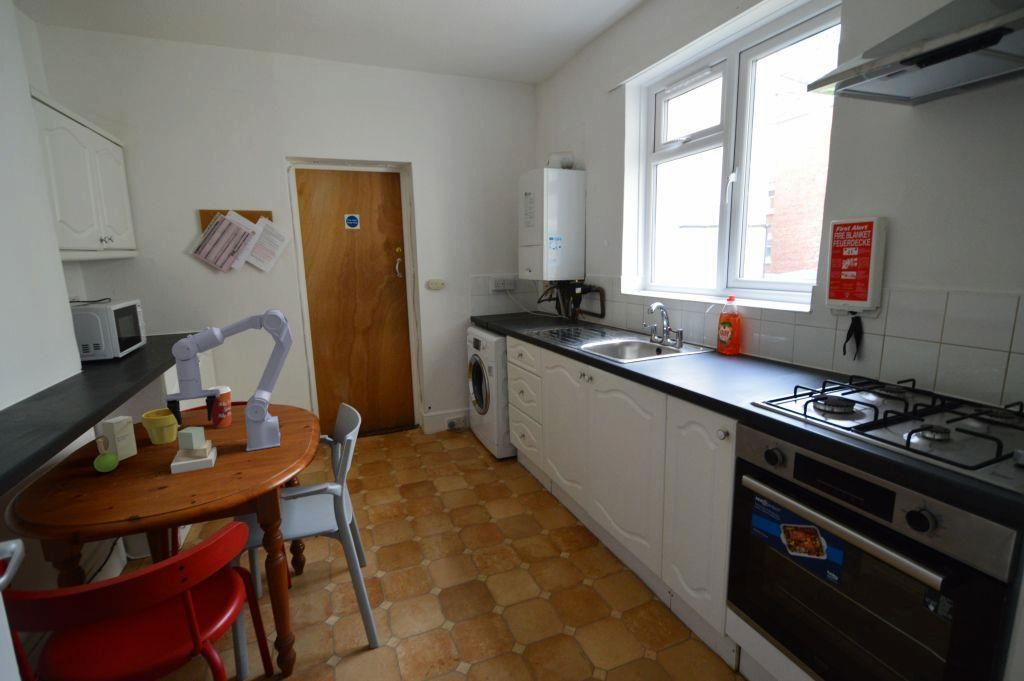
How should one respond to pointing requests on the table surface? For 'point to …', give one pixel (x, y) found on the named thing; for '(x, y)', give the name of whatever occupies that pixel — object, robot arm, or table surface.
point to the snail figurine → (105, 456)
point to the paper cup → (222, 408)
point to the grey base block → (193, 463)
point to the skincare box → (120, 436)
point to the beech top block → (195, 452)
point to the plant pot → (160, 425)
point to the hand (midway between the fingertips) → (195, 422)
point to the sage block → (191, 437)
